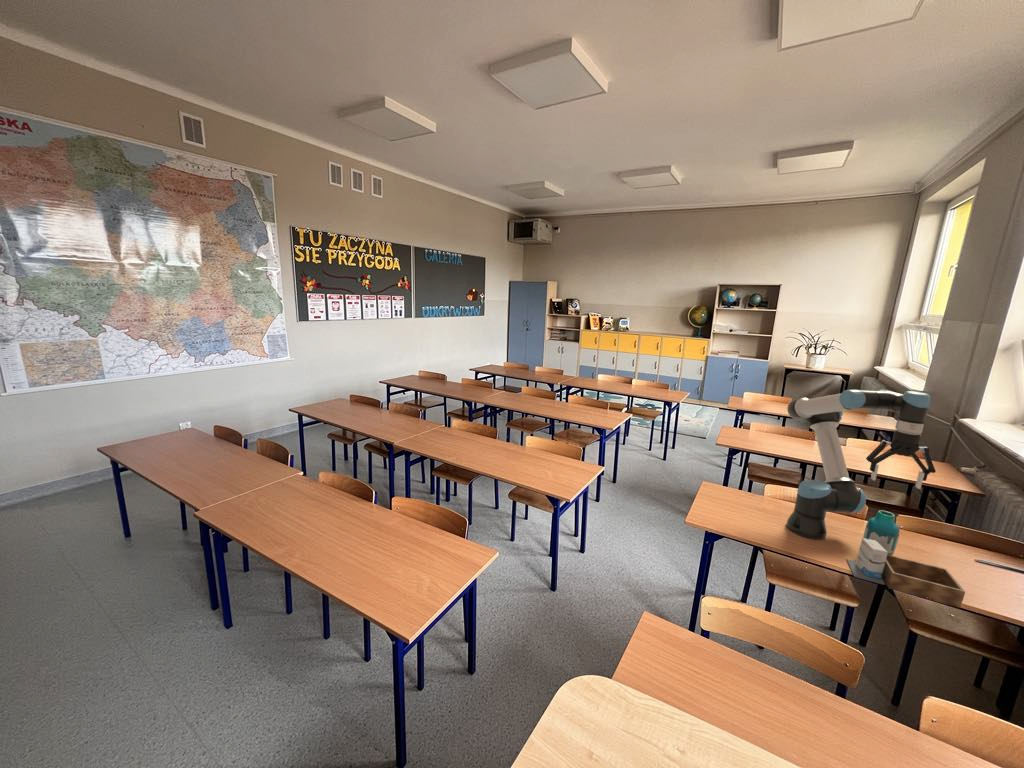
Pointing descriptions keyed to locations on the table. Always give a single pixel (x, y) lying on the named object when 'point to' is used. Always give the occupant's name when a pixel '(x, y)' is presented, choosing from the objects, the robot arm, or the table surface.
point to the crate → (922, 580)
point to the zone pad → (861, 573)
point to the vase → (883, 531)
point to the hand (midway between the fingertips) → (894, 483)
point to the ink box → (871, 558)
